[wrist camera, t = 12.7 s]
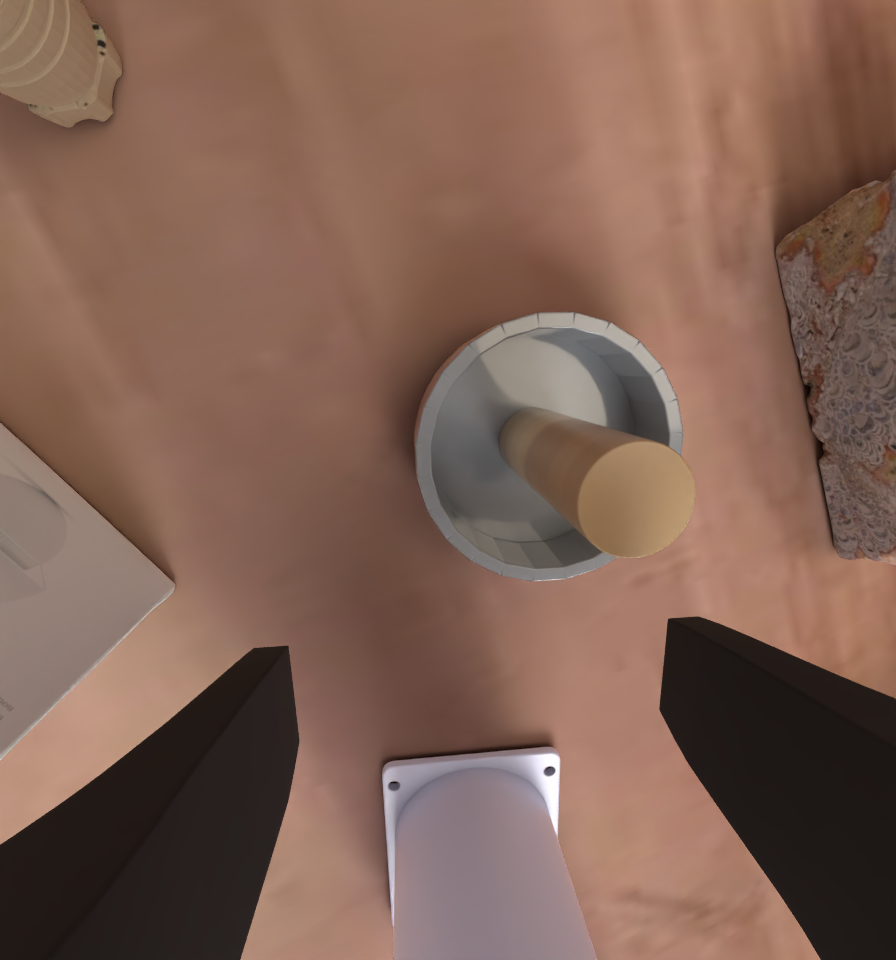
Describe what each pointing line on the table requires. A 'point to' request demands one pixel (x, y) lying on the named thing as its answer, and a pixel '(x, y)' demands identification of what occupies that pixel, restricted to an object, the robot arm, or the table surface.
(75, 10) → the handle
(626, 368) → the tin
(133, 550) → the cosmetics box
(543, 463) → the stick
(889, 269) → the geological specimen
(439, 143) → the table surface
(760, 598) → the table surface
